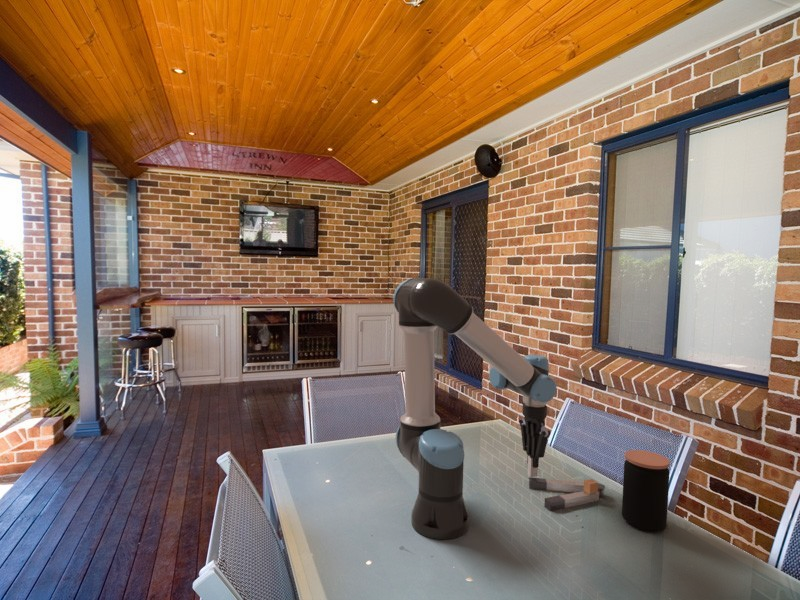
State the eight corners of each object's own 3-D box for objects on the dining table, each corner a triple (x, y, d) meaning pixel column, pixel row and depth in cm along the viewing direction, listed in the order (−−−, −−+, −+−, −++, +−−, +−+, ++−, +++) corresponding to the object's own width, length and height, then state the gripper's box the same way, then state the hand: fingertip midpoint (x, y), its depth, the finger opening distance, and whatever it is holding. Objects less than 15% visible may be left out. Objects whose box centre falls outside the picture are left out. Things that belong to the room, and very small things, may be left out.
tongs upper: (587, 490, 139) (587, 482, 139) (589, 493, 137) (589, 485, 137) (528, 485, 142) (528, 477, 142) (529, 488, 140) (529, 480, 140)
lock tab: (591, 488, 135) (591, 479, 135) (597, 492, 133) (598, 482, 132) (583, 490, 134) (583, 480, 134) (589, 494, 131) (590, 484, 131)
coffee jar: (655, 513, 126) (658, 450, 125) (674, 535, 116) (678, 467, 114) (615, 511, 127) (618, 448, 126) (631, 532, 117) (634, 464, 116)
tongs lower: (598, 491, 139) (598, 482, 138) (609, 498, 134) (610, 488, 134) (539, 503, 131) (540, 493, 131) (550, 511, 127) (550, 501, 126)
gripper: (558, 408, 140) (555, 482, 141) (531, 397, 152) (529, 466, 153) (538, 410, 137) (535, 486, 138) (512, 399, 149) (510, 469, 150)
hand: (532, 475), depth 146 cm, fingers closed
